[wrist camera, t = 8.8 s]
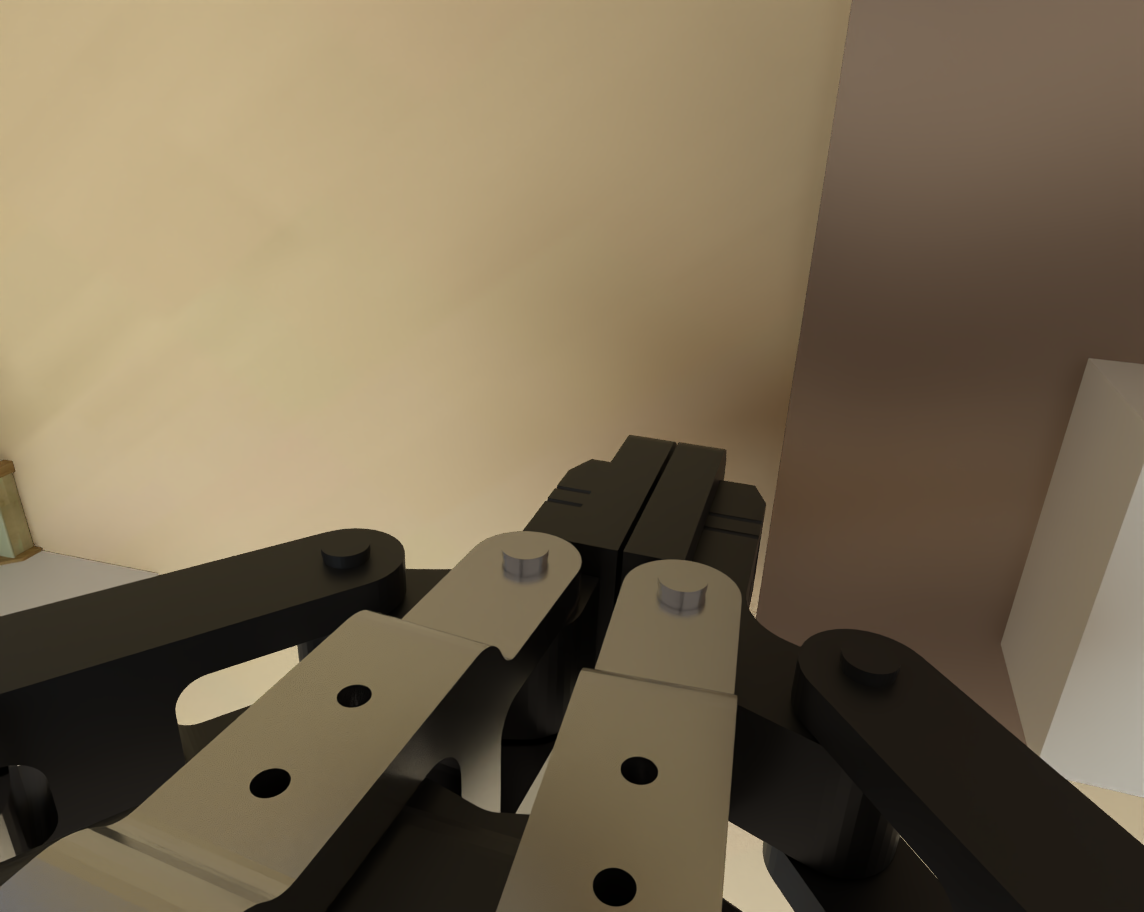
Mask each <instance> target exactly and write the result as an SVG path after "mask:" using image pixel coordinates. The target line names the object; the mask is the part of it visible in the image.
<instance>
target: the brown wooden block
mask: <svg viewBox="0 0 1144 912" xmlns="http://www.w3.org/2000/svg"><path fill="white" fill-rule="evenodd" d="M1088 358H1092V359H1101V360H1110V361H1119V362H1128V363H1136V364H1144V0H852V4H851V11H850V17H849V24H848V30H847V36H846V43H845V49H844V56H843V62H842V69H841V75H840V81H839V88H838V94H837V101H836V107H835V114H834V120H833V126H832V133H831V139H830V146H829V152H828V159H827V165H826V171H825V178H824V184H823V191H822V197H821V204H820V210H819V216H818V223H817V229H816V236H815V242H814V248H813V255H812V261H811V268H810V274H809V281H808V287H807V293H806V300H805V306H804V313H803V319H802V326H801V332H800V338H799V345H798V351H797V358H796V364H795V371H794V377H793V383H792V390H791V396H790V403H789V409H788V416H787V422H786V428H785V435H784V441H783V448H782V454H781V461H780V467H779V473H778V480H777V486H776V493H775V499H774V505H773V512H772V518H771V525H770V531H769V538H768V544H767V550H766V557H765V563H764V570H763V576H762V583H761V589H760V595H759V602H758V608H757V615H756V620H757V621H758V622H759V623H760V624H761V625H762V626H764V627H765V628H766V629H768V630H769V631H770V632H772V633H774V634H775V635H777V636H778V637H780V638H782V639H784V640H787V641H789V642H791V643H793V644H795V645H798V646H800V647H801V646H802V644H803V643H804V641H806V640H807V639H808V638H809V637H811V636H813V635H815V634H817V633H819V632H823V631H826V630H833V629H857V630H863V631H869V632H873V633H876V634H880V635H883V636H886V637H888V638H891V639H894V640H896V641H898V642H900V643H902V644H904V645H905V646H907V647H909V648H911V649H912V650H914V651H915V652H916V653H918V654H919V655H920V656H922V657H923V658H924V659H925V660H926V661H927V662H929V663H930V664H931V665H932V666H933V667H934V668H936V669H937V670H938V671H939V672H940V673H942V674H943V675H944V676H945V677H946V678H947V679H949V680H950V681H951V682H952V683H953V684H954V685H956V686H957V687H958V688H959V689H960V690H962V691H963V692H964V693H965V694H966V695H967V696H969V697H970V698H971V699H972V700H973V701H974V702H976V703H977V704H978V705H979V706H980V707H982V708H983V709H984V710H985V711H986V712H987V713H989V714H990V715H991V716H992V717H993V718H994V719H996V720H997V721H998V722H999V723H1000V724H1002V725H1003V726H1004V727H1005V728H1006V729H1007V730H1009V731H1010V732H1011V733H1012V734H1013V735H1014V736H1016V737H1017V738H1018V739H1019V740H1020V741H1022V742H1023V743H1024V744H1025V745H1026V746H1027V743H1026V739H1025V735H1024V731H1023V728H1022V724H1021V720H1020V716H1019V712H1018V708H1017V705H1016V701H1015V697H1014V693H1013V689H1012V685H1011V682H1010V678H1009V674H1008V670H1007V666H1006V662H1005V659H1004V655H1003V651H1002V647H1001V641H1002V638H1003V635H1004V631H1005V628H1006V625H1007V622H1008V618H1009V615H1010V612H1011V609H1012V605H1013V602H1014V599H1015V596H1016V592H1017V589H1018V586H1019V583H1020V579H1021V576H1022V573H1023V570H1024V566H1025V563H1026V560H1027V557H1028V553H1029V550H1030V547H1031V544H1032V540H1033V537H1034V534H1035V531H1036V527H1037V524H1038V521H1039V518H1040V514H1041V511H1042V508H1043V505H1044V501H1045V498H1046V495H1047V492H1048V488H1049V485H1050V482H1051V479H1052V475H1053V472H1054V469H1055V466H1056V462H1057V459H1058V456H1059V453H1060V449H1061V446H1062V443H1063V440H1064V436H1065V433H1066V430H1067V427H1068V423H1069V420H1070V417H1071V414H1072V410H1073V407H1074V404H1075V400H1076V397H1077V394H1078V391H1079V387H1080V384H1081V381H1082V378H1083V374H1084V371H1085V368H1086V365H1087V361H1088Z"/></svg>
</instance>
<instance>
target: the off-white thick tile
mask: <svg viewBox="0 0 1144 912" xmlns="http://www.w3.org/2000/svg"><path fill="white" fill-rule="evenodd" d="M1001 647H1002V651H1003V655H1004V659H1005V662H1006V666H1007V670H1008V674H1009V678H1010V682H1011V685H1012V689H1013V693H1014V697H1015V701H1016V705H1017V708H1018V712H1019V716H1020V720H1021V724H1022V728H1023V731H1024V735H1025V739H1026V743H1027V747H1029V748H1030V749H1031V750H1032V751H1033V752H1035V753H1036V754H1037V755H1038V756H1039V757H1040V758H1042V759H1043V760H1044V761H1045V762H1046V763H1047V764H1049V765H1050V766H1051V767H1052V768H1053V769H1054V770H1056V771H1057V772H1058V773H1059V774H1060V775H1062V776H1063V777H1064V778H1065V779H1066V780H1070V781H1074V782H1079V783H1083V784H1087V785H1091V786H1096V787H1100V788H1104V789H1109V790H1113V791H1117V792H1121V793H1126V794H1130V795H1134V796H1139V797H1143V798H1144V364H1136V363H1128V362H1119V361H1110V360H1101V359H1092V358H1088V361H1087V365H1086V368H1085V371H1084V374H1083V378H1082V381H1081V384H1080V387H1079V391H1078V394H1077V397H1076V400H1075V404H1074V407H1073V410H1072V414H1071V417H1070V420H1069V423H1068V427H1067V430H1066V433H1065V436H1064V440H1063V443H1062V446H1061V449H1060V453H1059V456H1058V459H1057V462H1056V466H1055V469H1054V472H1053V475H1052V479H1051V482H1050V485H1049V488H1048V492H1047V495H1046V498H1045V501H1044V505H1043V508H1042V511H1041V514H1040V518H1039V521H1038V524H1037V527H1036V531H1035V534H1034V537H1033V540H1032V544H1031V547H1030V550H1029V553H1028V557H1027V560H1026V563H1025V566H1024V570H1023V573H1022V576H1021V579H1020V583H1019V586H1018V589H1017V592H1016V596H1015V599H1014V602H1013V605H1012V609H1011V612H1010V615H1009V618H1008V622H1007V625H1006V628H1005V631H1004V635H1003V638H1002V641H1001Z"/></svg>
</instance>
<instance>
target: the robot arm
mask: <svg viewBox="0 0 1144 912" xmlns="http://www.w3.org/2000/svg"><path fill="white" fill-rule="evenodd" d="M725 466H726V450H725V449H718V448H712V447H705V446H699V445H692V444H686V443H680V442H679V443H678V445H677V444H676V442H672V441H666V440H659V439H653V438H646V437H640V436H634V435H629V436H628V437H627V439H626V440H625V442H624V443H623V445H622V446H621V448H620V449H619V451H618V452H617V454H616V455H615V457H614V458H613V460H612V461H611V462H606V461H600V460H594V459H591V460H589V461H587V462H585V463H583V464H581V465H579V466H577V467H575V468H573V469H571V470H569V471H568V472H567V473H566V475H565V476H564V477H563V479H562V480H561V481H560V483H559V484H558V485H557V489H556V488H555V489H554V491H553V492H552V493H551V494H550V496H549V497H548V501H545V502H544V504H543V505H542V506H541V508H540V509H539V510H538V512H537V513H536V514H535V515H534V517H533V518H532V519H531V521H530V522H529V523H528V525H527V526H526V527H525V529H524V530H523V531H517V532H508V533H503V534H499V535H495V536H492V537H490V538H487V539H485V540H484V541H482V542H480V543H479V544H478V545H476V546H475V547H474V548H473V549H472V550H471V551H470V552H469V553H468V554H467V555H466V556H465V557H464V558H463V559H462V560H461V561H460V562H459V563H458V564H457V565H456V566H455V567H454V568H453V569H405V551H404V548H403V545H402V544H401V543H400V541H398V540H397V539H396V538H395V537H393V536H391V535H389V534H386V533H384V532H380V531H376V530H370V529H357V528H354V529H341V530H335V531H330V532H325V533H322V534H318V535H314V536H310V537H306V538H302V539H298V540H294V541H291V542H287V543H283V544H279V545H275V546H271V547H267V548H263V549H260V550H256V551H252V552H248V553H244V554H240V555H236V556H232V557H229V558H225V559H221V560H217V561H213V562H209V563H205V564H201V565H198V566H194V567H190V568H186V569H182V570H178V571H174V572H170V573H167V574H163V575H159V576H155V577H151V578H147V579H143V580H139V581H135V582H132V583H128V584H124V585H120V586H116V587H112V588H108V589H104V590H101V591H97V592H93V593H89V594H85V595H81V596H77V597H73V598H70V599H66V600H62V601H58V602H54V603H50V604H46V605H42V606H39V607H35V608H31V609H27V610H23V611H19V612H15V613H11V614H8V615H4V616H0V912H742V911H741V910H739V909H738V908H737V907H735V906H734V905H732V904H731V903H729V902H728V901H727V900H725V899H724V898H723V884H724V871H725V858H726V844H727V831H728V821H730V822H731V823H733V824H735V825H736V826H738V827H740V828H742V829H743V830H745V831H747V832H749V833H750V834H752V835H754V836H756V837H757V838H759V839H761V840H762V841H763V857H764V862H765V865H766V867H767V870H768V872H769V873H770V875H771V877H772V879H773V880H774V882H775V883H776V885H777V886H778V888H779V889H780V891H781V892H782V894H783V895H784V897H785V898H786V900H787V901H788V903H789V904H790V906H791V907H792V909H793V910H794V912H1144V845H1143V844H1142V843H1140V842H1139V841H1138V840H1137V839H1136V838H1135V837H1133V836H1132V835H1131V834H1130V833H1129V832H1127V831H1126V830H1125V829H1124V828H1123V827H1122V826H1120V825H1119V824H1118V823H1117V822H1116V821H1114V820H1113V819H1112V818H1111V817H1110V816H1109V815H1107V814H1106V813H1105V812H1104V811H1103V810H1102V809H1100V808H1099V807H1098V806H1097V805H1096V804H1094V803H1093V802H1092V801H1091V800H1090V799H1089V798H1087V797H1086V796H1085V795H1084V794H1083V793H1082V792H1080V791H1079V790H1078V789H1077V788H1076V787H1074V786H1073V785H1072V784H1071V783H1070V782H1069V781H1067V780H1066V779H1065V778H1064V777H1063V776H1062V775H1060V774H1059V773H1058V772H1057V771H1056V770H1054V769H1053V768H1052V767H1051V766H1050V765H1049V764H1047V763H1046V762H1045V761H1044V760H1043V759H1042V758H1040V757H1039V756H1038V755H1037V754H1036V753H1035V752H1033V751H1032V750H1031V749H1030V748H1029V747H1027V746H1026V745H1025V744H1024V743H1023V742H1022V741H1020V740H1019V739H1018V738H1017V737H1016V736H1014V735H1013V734H1012V733H1011V732H1010V731H1009V730H1007V729H1006V728H1005V727H1004V726H1003V725H1002V724H1000V723H999V722H998V721H997V720H996V719H994V718H993V717H992V716H991V715H990V714H989V713H987V712H986V711H985V710H984V709H983V708H982V707H980V706H979V705H978V704H977V703H976V702H974V701H973V700H972V699H971V698H970V697H969V696H967V695H966V694H965V693H964V692H963V691H962V690H960V689H959V688H958V687H957V686H956V685H954V684H953V683H952V682H951V681H950V680H949V679H947V678H946V677H945V676H944V675H943V674H942V673H940V672H939V671H938V670H937V669H936V668H934V667H933V666H932V665H931V664H930V663H929V662H927V661H926V660H925V659H924V658H923V657H922V656H920V655H919V654H918V653H916V652H915V651H914V650H912V649H911V648H909V647H907V646H905V645H904V644H902V643H900V642H898V641H896V640H894V639H891V638H888V637H886V636H883V635H880V634H876V633H873V632H869V631H863V630H857V629H833V630H826V631H823V632H819V633H817V634H815V635H813V636H811V637H809V638H808V639H807V640H806V641H804V643H803V644H802V646H801V647H800V646H798V645H795V644H793V643H791V642H789V641H787V640H784V639H782V638H780V637H778V636H777V635H775V634H774V633H772V632H770V631H769V630H768V629H766V628H765V627H764V626H762V625H761V624H760V623H759V622H758V621H757V620H756V619H755V618H754V616H753V615H752V613H751V612H750V610H749V606H750V602H751V597H752V592H753V586H754V579H755V573H756V566H757V560H758V553H759V547H760V540H761V534H762V527H763V520H764V514H765V507H766V503H765V501H764V499H763V498H762V496H761V495H760V493H759V491H758V490H757V488H756V487H755V486H752V485H746V484H740V483H734V482H728V481H724V474H725ZM296 645H297V646H298V654H299V663H298V664H297V665H296V666H295V667H294V668H293V669H292V670H291V671H289V672H288V673H287V674H286V675H285V676H284V677H283V678H282V679H280V680H279V681H278V682H277V683H276V684H275V685H274V686H273V687H272V688H270V689H269V690H268V691H267V692H266V693H265V694H264V695H263V696H261V697H260V698H259V699H258V700H257V701H256V702H255V703H254V704H253V705H250V706H247V707H245V708H242V709H239V710H236V711H233V712H230V713H228V714H225V715H222V716H219V717H216V718H213V719H211V720H208V721H205V722H202V723H199V724H196V725H179V724H178V723H177V718H176V712H175V708H176V703H177V700H178V698H179V696H180V694H181V693H182V691H183V690H184V689H185V688H186V687H187V686H188V685H189V684H190V683H192V682H193V681H194V680H196V679H198V678H200V677H202V676H204V675H207V674H210V673H213V672H216V671H219V670H222V669H225V668H228V667H231V666H234V665H237V664H240V663H243V662H246V661H250V660H253V659H256V658H259V657H262V656H265V655H268V654H271V653H274V652H277V651H280V650H283V649H286V648H289V647H293V646H296ZM17 765H20V766H17ZM900 835H901V837H902V838H903V839H904V840H905V841H906V842H907V843H908V845H909V846H910V847H911V848H912V849H913V850H914V851H915V853H916V854H917V855H918V856H919V857H920V858H921V859H922V861H923V862H924V863H925V864H926V865H927V866H928V867H929V869H930V870H931V871H932V872H933V873H934V874H933V873H932V872H931V871H930V870H929V869H928V867H927V866H926V865H925V864H924V863H923V862H922V861H921V859H920V858H919V857H918V856H917V855H916V854H915V853H914V851H913V850H912V849H911V848H910V847H909V846H908V845H907V843H906V842H905V841H904V840H903V839H902V838H901V837H900ZM935 876H936V877H937V878H936V877H935Z"/></svg>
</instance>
